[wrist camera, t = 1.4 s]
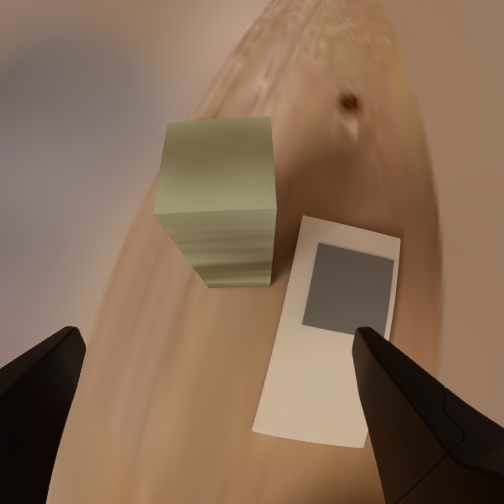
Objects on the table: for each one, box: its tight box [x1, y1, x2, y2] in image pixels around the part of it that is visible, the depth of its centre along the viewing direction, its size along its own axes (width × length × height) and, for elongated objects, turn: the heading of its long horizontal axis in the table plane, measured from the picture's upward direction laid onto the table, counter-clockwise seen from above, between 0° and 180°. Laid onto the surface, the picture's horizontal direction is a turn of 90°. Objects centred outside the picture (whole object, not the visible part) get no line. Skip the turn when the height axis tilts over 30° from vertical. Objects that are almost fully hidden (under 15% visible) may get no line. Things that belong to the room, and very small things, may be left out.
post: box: [154, 117, 277, 288], centre depth 18 cm, size 4×4×12 cm
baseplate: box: [252, 215, 400, 448], centre depth 21 cm, size 16×8×1 cm, turn 166°
